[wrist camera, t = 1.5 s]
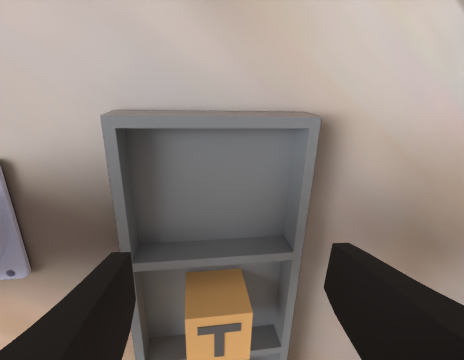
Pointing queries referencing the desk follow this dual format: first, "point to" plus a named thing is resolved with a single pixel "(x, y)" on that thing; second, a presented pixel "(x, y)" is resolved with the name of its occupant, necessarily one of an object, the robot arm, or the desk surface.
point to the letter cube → (217, 315)
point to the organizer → (211, 214)
